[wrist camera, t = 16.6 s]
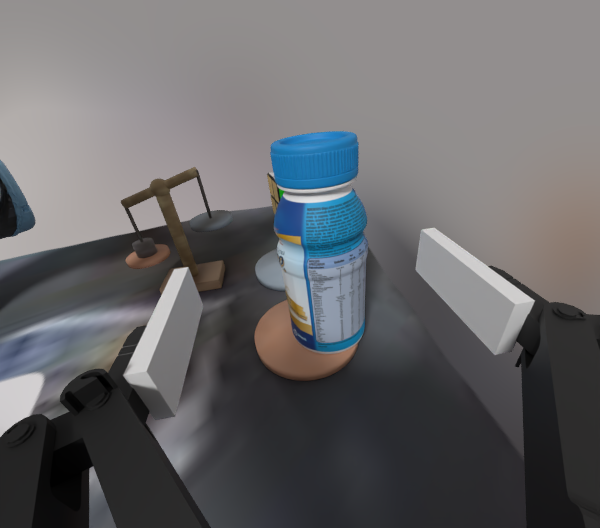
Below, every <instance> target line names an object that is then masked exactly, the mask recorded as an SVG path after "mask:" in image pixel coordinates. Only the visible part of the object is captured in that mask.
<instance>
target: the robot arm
mask: <svg viewBox="0 0 600 528" xmlns="http://www.w3.org/2000/svg"><path fill="white" fill-rule="evenodd" d="M34 225H35V217H34V215H33V212H32V210H31V208H30V207H29V205H28V203H27V201H26V198H25V197H24V195H23V193H22V191H21V190H20V188H19V186H18V185H17V183H16V181H15V180H14V178H13V176H12V175H11V174H10V172H9V170H8V169H7V168H6V166H5V165H4V163H3V162H2V161H1V160H0V239H2V238H6V237H11V236H12V237H13V236H16V235H18V234H19V233H21V232H24V231H27V230H29V229H31V228H33V227H34ZM416 271H417V272H418V273H419V274H420V275H421V276H422V277H423V279H424V280H425V281H426V282H427V283H428V284H429V285H430V286H431V287H432V288H433V289H434V290H435V291H436V293H437V294H438V295H439V296H440V297H441V298H442V299H443V300H444V301H445V302H446V303H447V304H448V305H449V307H450V308H451V309H452V310H453V311H454V312H455V313H456V314H457V315H458V316H459V317H460V318H461V319H462V321H463V322H464V323H465V324H466V325H467V326H468V327H469V328H470V329H471V330H472V331H473V332H474V333H475V334H476V336H477V337H478V338H479V339H480V340H481V341H482V342H483V343H484V344H485V345H486V346H487V347H488V348H489V349H490V351H491V352H492V353H493V354H494V355H497V354H502V353H507V352H512V350H513V348H514V346H515V343H516V341H517V342H518V343H519V344H520V345H521V346H522V347H524V348H523V350H522V352H521V354H520V356H519V358H518V361H517V363H516V367H519V365H520V364H521V365H522V366H521V367H522V397H523V427H524V428H523V429H524V460H525V490H526V520H527V528H600V315H589V314H586V313H584V312H583V311H582V310H580V309H578V308H576V307H574V306H571V305H567V304H564V303H558V302H553V303H549V302H548V301H546V300H545V299H544V298H542V297H541V296H539V295H538V294H536V293H535V292H533V291H532V290H530V289H529V288H528V287H526V286H525V285H523V284H521V283H520V282H519V281H517V280H516V279H513V277H512V276H510V275H509V274H508V273H506V272H505V271H503V270H501V269H498V268H495V267H493V266H486V265H485V264H484V263H482V262H481V261H479V260H478V259H477V258H475V257H474V256H472V255H471V254H470V253H468V252H467V251H466V250H464V249H463V248H461V247H460V246H459V245H457V244H456V243H454V242H453V241H452V240H450V239H449V238H448V237H446V236H445V235H444V234H442V233H441V232H439V231H438V230H437V229H435V228H429V229H423V230H421V235H420V242H419V249H418V257H417V263H416ZM202 309H203V304H202V301H201V298H200V296H199V293H198V291H197V288H196V285H195V283H194V280H193V278H192V275H191V272H190V270H189V267H185V268H179V269H174V271H173V273H172V275H171V277H170V279H169V281H168V283H167V285H166V287H165V289H164V291H163V293H162V295H161V298H160V300H159V302H158V304H157V306H156V308H155V310H154V312H153V314H152V316H151V318H150V320H149V322H148V325H147V326H141V327H137V328H136V329H135V330H134V331H133V332H132V333H131V334H130V335H129V336H128V337H127V339H126V341H125V343H124V345H123V348H121V350H120V352H119V354H118V356H117V358H116V359H115V361H114V363H113V365H112V367H111V369H110V370H109V372H108V373H107V372H106V371H105V370H104V369H93V370H89V371H87V372H85V373H83V374H81V375H79V376H78V377H76V378H75V379H74V380H72V381H71V382H70V383H69V384H68V385H67V386H66V387H65V388H64V390H63V392H62V394H61V395H60V402H61V403H62V404H63V405H64V406H65V407H66V408H67V409H68V410H69V411H70V412H68V413H66V414H63V415H61V416H59V417H56V418H54V419H52V420H49V419H48V418H47V417H46V416H44V415H42V414H36V415H32V416H29V417H26V418H24V419H23V420H21V421H19V422H18V423H16V424H14V425H13V426H12V427H11V428H10V429H8V430H7V431H6V432H5V433H4V434H3V435H2V436H1V437H0V528H89V468H90V467H92V466H94V469H95V471H96V474H97V477H98V479H99V482H100V485H101V487H102V490H103V492H104V495H105V498H106V500H107V503H108V506H109V508H110V511H111V514H112V516H113V519H114V522H115V524H116V527H117V528H211V527H210V526H209V524H208V522H207V521H206V519H205V517H204V516H203V514H202V513H201V511H200V509H199V508H198V506H197V504H196V503H195V501H194V500H193V498H192V496H191V495H190V493H189V492H188V490H187V488H186V487H185V485H184V483H183V482H182V480H181V479H180V477H179V475H178V474H177V472H176V471H175V469H174V467H173V466H172V464H171V462H170V461H169V459H168V458H167V456H166V454H165V453H164V451H163V449H162V448H161V446H160V445H159V443H158V441H157V440H156V438H155V437H154V435H153V433H152V432H151V430H150V428H149V427H148V425H147V424H146V420H147V417H148V414H149V413H150V414H151V415H152V417H153V418H154V419H155V420H159V419H164V418H169V417H175V415H176V411H177V407H178V403H179V400H180V396H181V392H182V388H183V384H184V380H185V376H186V372H187V368H188V364H189V360H190V356H191V353H192V349H193V345H194V341H195V337H196V333H197V329H198V325H199V321H200V317H201V313H202Z"/></svg>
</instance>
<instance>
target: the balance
mask: <svg viewBox="0 0 600 528" xmlns="http://www.w3.org/2000/svg"><path fill="white" fill-rule="evenodd" d="M195 177H197V180H198V183H199V186H200V189H201V193H202V196H203V199H204V203H205V206H206V209H207V212H206V213H203V214H200V215H198V216H196V217H194V218H193V219H191V220H190V226H191V229H192V230H193V231H196V232H207V231H213V230H217V229H220V228H223V227H225V226H227V225H228V224H230V223H231V222H232V220H233V219H232V215H231V212H229V211H225V210H217V211H210V209H209V206H208V202H207V199H206V196H205V193H204V189H203V186H202V183H201V179H200V176H199V173H198V170H197V169H196V168H195V167H193V168H191V169H189V170H187V171H184V172H182V173H180V174H178V175H176V176H174V177H172V178H169V179H167V180H163V179H155V180H153V181H152V182H151V184H150V187H149V188H147V189H145V190H143V191H141V192H139V193H136V194H134V195H132V196H130V197H128V198H125V199H123V200H121V204H122V205H123V206H124V208H125V210H126V212H127V214H128V216H129V218H130V220H131V223H132V225H133V227H134V229H135V231H136V233H137V235H138V237H139V240H137V241H135V242H134V243H132V246H133V248H134V250H135V251H134V252H133V253H131V254H130V255H129V256H128V257H127V258H126V262H127V264H128V266H129V267H130V268H133V269H142V268H147V267H151V266H154V265H156V264H158V263H160V262H162V261H164V260H165V259H166V258H168V257H169V255H170V250H169V248H168V246H167V245H164V244H156V245H155V244H154V242H153V239H152V238H142V237H141V235H140V232H139V230H138V228H137V226H136V224H135V222H134V219H133V217H132V215H131V213H130V211H129V209H128V208H129V207H131V206H133V205H136V204H138V203H140V202H142V201H144V200H147V199H149V198H151V197H153V196H156V197H157V201H158V203H159V206H160V208H161V211H162V213H163V216H164V218H165V221H166V223H167V226H168V228H169V231H170V233H171V236H172V238H173V241H174V243H175V246H176V248H177V251H178V253H179V256H180V258H181V261H182V263H183V266H184V267H178V268H172V269H170V270H169V272H168V274H167V276H166V277H165V279H164V281H163V283H162V285H161V287H160V289H159V290H160V292H161V294H162V293H163V291H164V289H165V287H166V285H167V283H168V281H169V279H170V277H171V275H172V273H173V271H174V269H179V268H185V267H189V270H190V272H191V275H192V278H193V280H194V283H195V285H196V288H197V291H198V292H200V291H206V290H212V289H218V288H222V283H223V278H224V272H225V265H224V262H223V260H221V261H215V262H209V263H202V264H196V263H195V261H194V258H193V255H192V252H191V250H190V247H189V244H188V242H187V239H186V236H185V233H184V231H183V228H182V225H181V223H180V220H179V217H178V215H177V212H176V209H175V207H174V204H173V201H172V198H171V196H170V193H169V192H170V189H171V188H173V187H175V186H178V185H180V184H182V183H184V182H186V181H189V180H191V179H193V178H195Z"/></svg>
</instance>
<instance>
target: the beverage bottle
mask: <svg viewBox="0 0 600 528" xmlns="http://www.w3.org/2000/svg"><path fill="white" fill-rule="evenodd" d="M271 160H272V166H273V173H274V177H275V182H276V184H277V187H278V188H279V189H281V190H283V191H284V193H283V195H282V197H281V199H280V202H279V204H278V207H277V210H276V213H275V219H274V231H275V233H276V235H277V236H278V237H279V242H278V245H277V256H278V261H279V263H280V265H281V269H282V274H283V279H284V285H285V290H286V295H287V301H288V306H289V312H290V318H291V326H292V331H293V334H294V337H295V339H296V340H297V341H298V343H299V344H300V345H302V346H303V347H304V348H306V349H308V350H310V351H312V352H315V353H319V354H336V353H341V352H344V351H346V350H348V349H350V348H352V347H353V346H354V345H356V344H357V343H358V342H359V340H360V339H361V337H362V336H363V333H364V329H365V278H366V258H367V254H368V243H367V239H366V236H365V235H364V233H363V230H364V228H365V227H366V224H367V216H366V212H365V209H364V206H363V204H362V202H361V200H360V198H359V196H358V195H357V193H356V192H355V190H354V189H353V188H352V186H351V185H350V184H352V183H353V182H354V181H355V180H356V178H357V174H358V142H357V136H356V134H354V133H351V132H343V131H336V132H335V131H334V132H320V133H311V134H303V135H297V136H292V137H287V138H284V139H280V140H277V141H275V142H274V143H272V144H271Z"/></svg>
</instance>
